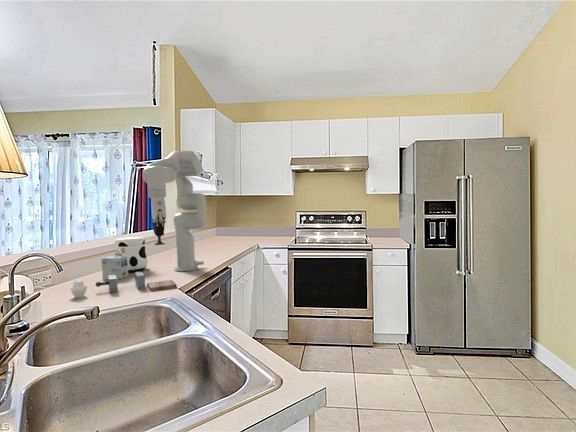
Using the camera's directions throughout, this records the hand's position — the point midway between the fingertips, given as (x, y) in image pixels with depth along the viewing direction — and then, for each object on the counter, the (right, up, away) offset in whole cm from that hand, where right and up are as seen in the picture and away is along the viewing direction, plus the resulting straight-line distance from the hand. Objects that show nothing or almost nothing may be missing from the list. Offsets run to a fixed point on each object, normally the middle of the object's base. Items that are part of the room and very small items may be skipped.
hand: (159, 234), depth 171 cm
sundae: (0, -5, 0) cm, 5 cm away
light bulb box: (-31, -24, +25) cm, 46 cm away
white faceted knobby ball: (-29, -25, -12) cm, 40 cm away
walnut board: (+1, -24, +1) cm, 24 cm away
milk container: (-30, -22, +44) cm, 58 cm away
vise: (-17, -24, -1) cm, 30 cm away
